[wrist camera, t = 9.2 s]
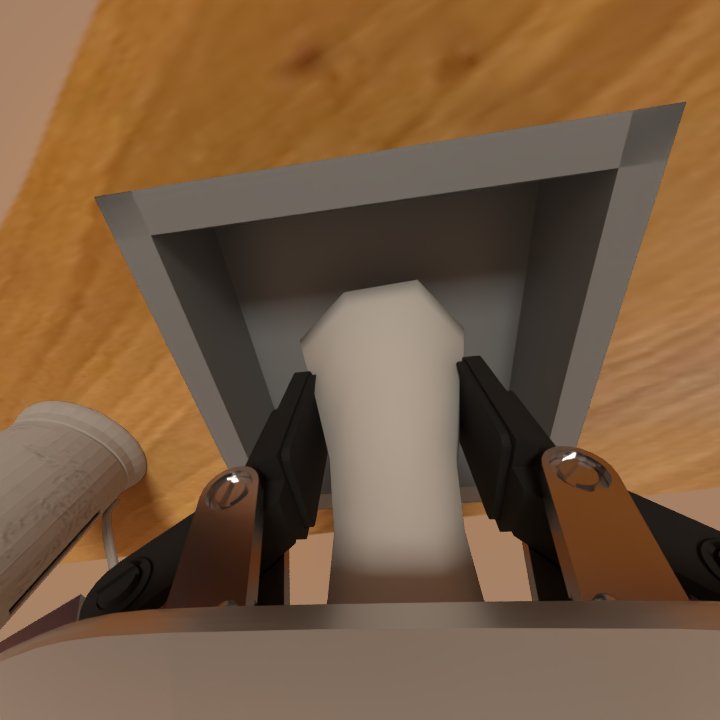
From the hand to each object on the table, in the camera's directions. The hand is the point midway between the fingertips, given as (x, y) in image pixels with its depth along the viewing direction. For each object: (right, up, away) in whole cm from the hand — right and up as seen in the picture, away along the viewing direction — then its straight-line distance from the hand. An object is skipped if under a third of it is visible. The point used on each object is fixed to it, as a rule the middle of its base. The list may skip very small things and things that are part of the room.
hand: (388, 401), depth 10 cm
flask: (0, +2, +3) cm, 3 cm away
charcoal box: (0, +3, +5) cm, 6 cm away
